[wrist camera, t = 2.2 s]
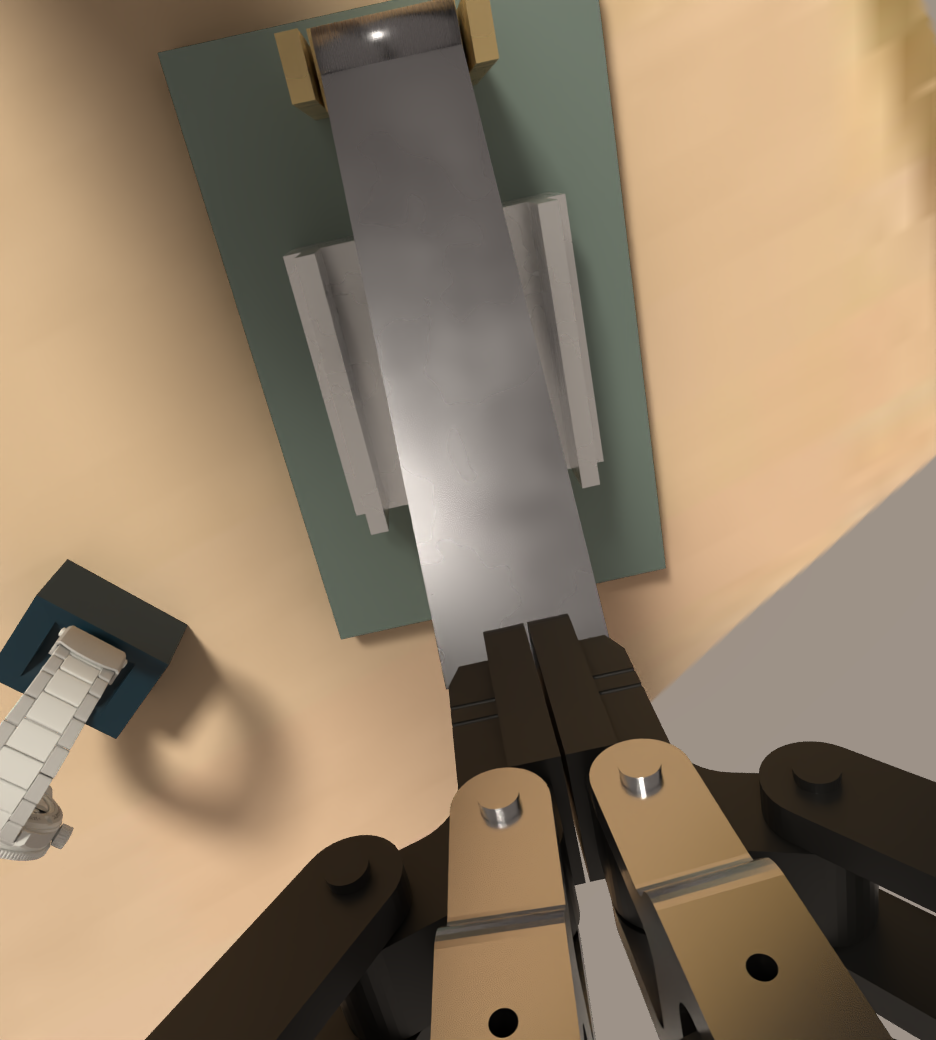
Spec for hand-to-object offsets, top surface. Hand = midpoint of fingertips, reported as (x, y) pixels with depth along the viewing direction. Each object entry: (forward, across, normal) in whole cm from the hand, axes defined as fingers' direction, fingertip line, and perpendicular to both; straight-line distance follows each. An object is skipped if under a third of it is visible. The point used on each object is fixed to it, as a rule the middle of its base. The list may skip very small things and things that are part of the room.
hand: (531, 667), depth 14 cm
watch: (+20, +17, +7) cm, 27 cm away
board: (+20, 0, -2) cm, 20 cm away
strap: (+8, 0, -4) cm, 9 cm away
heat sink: (+18, 0, -2) cm, 18 cm away
